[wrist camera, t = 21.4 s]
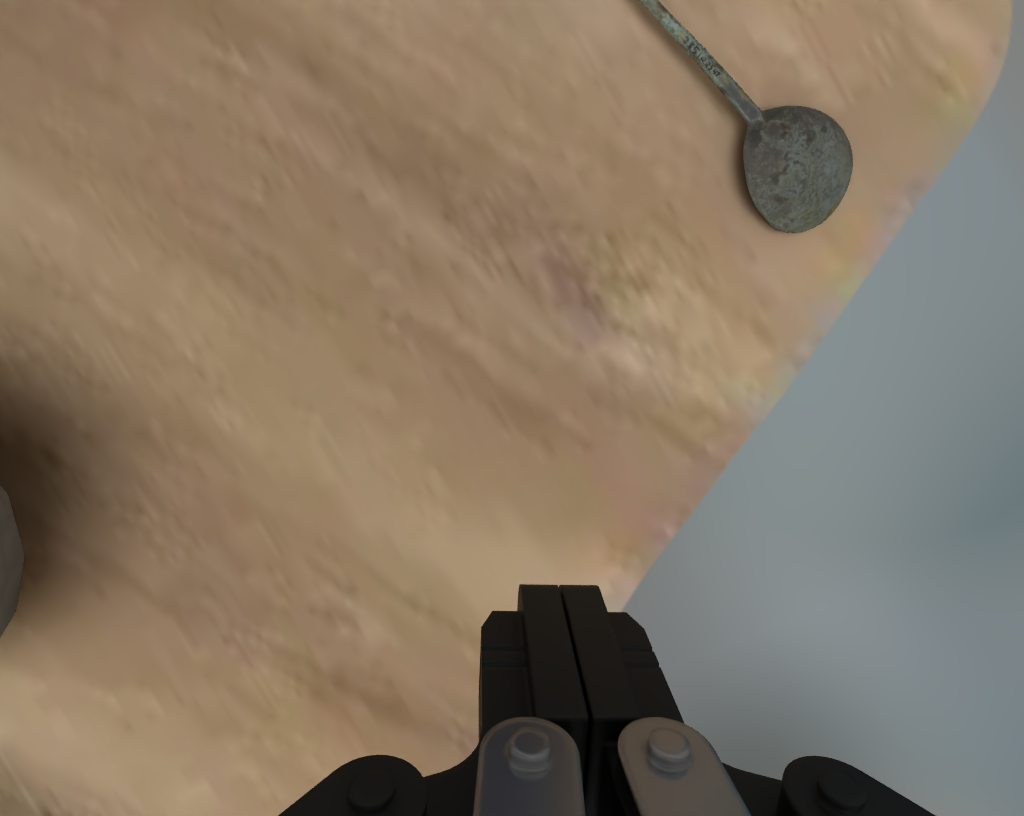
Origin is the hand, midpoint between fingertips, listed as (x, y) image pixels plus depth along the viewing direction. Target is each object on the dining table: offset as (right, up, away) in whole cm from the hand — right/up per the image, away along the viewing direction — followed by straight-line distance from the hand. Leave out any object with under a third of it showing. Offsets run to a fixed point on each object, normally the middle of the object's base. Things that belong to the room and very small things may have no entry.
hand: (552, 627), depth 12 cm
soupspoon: (+11, +24, +26) cm, 37 cm away
